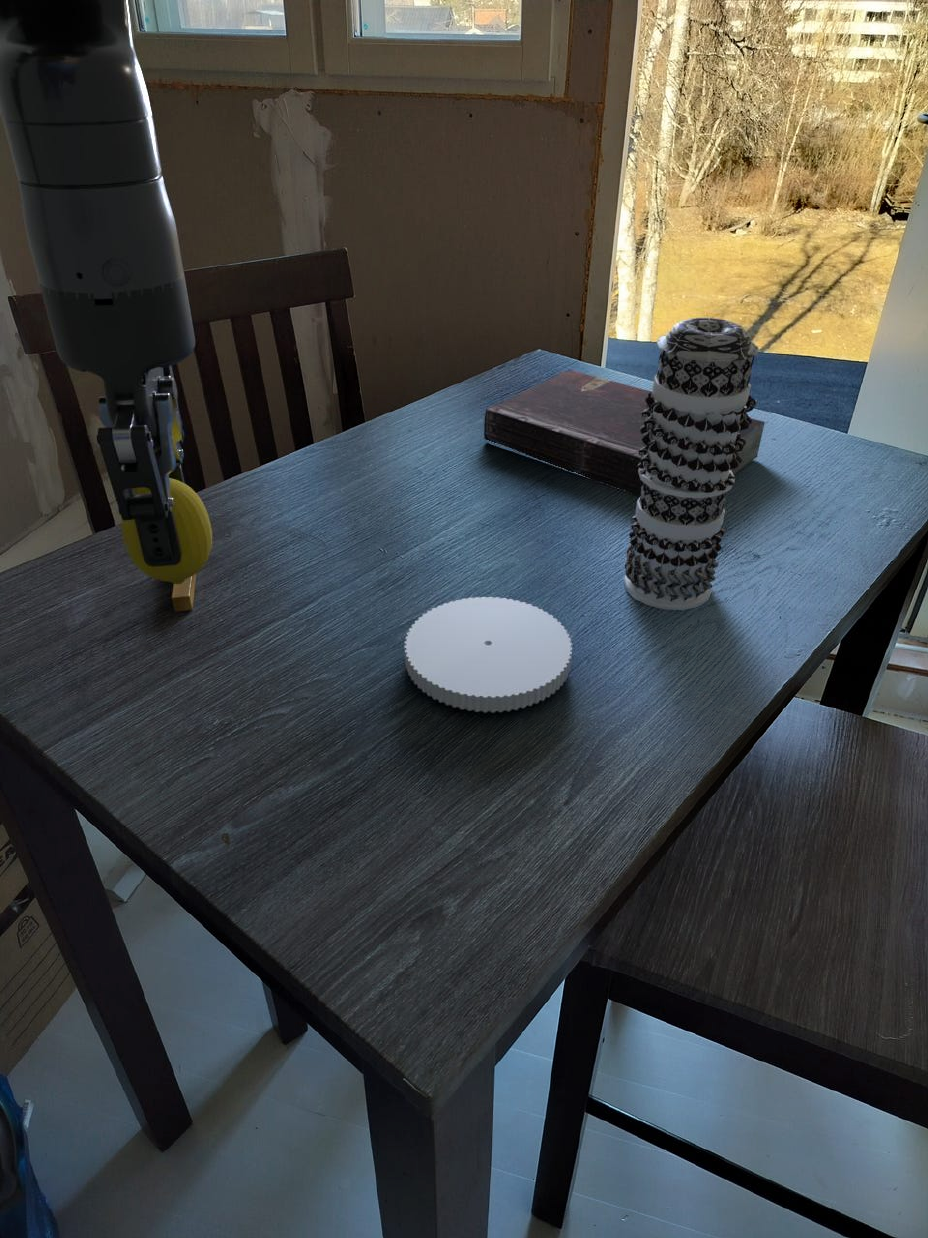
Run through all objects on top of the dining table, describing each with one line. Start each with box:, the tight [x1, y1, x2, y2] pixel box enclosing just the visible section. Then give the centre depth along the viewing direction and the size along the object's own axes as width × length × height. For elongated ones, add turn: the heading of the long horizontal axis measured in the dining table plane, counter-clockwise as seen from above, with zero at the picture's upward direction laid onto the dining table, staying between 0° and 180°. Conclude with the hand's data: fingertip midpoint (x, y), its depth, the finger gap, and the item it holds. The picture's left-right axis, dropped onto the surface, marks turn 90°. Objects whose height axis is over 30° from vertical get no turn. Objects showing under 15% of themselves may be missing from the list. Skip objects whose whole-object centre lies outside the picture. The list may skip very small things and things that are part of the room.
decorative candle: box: [623, 317, 760, 611], centre depth 76 cm, size 9×9×25 cm
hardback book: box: [483, 369, 766, 497], centre depth 107 cm, size 29×19×5 cm, turn 50°
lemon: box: [121, 478, 213, 585], centre depth 56 cm, size 6×6×8 cm
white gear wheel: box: [403, 596, 573, 713], centre depth 72 cm, size 14×14×2 cm
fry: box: [171, 573, 197, 613], centre depth 82 cm, size 2×9×2 cm, turn 11°
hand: (169, 538), depth 56 cm, fingers closed on lemon, 5 cm apart
